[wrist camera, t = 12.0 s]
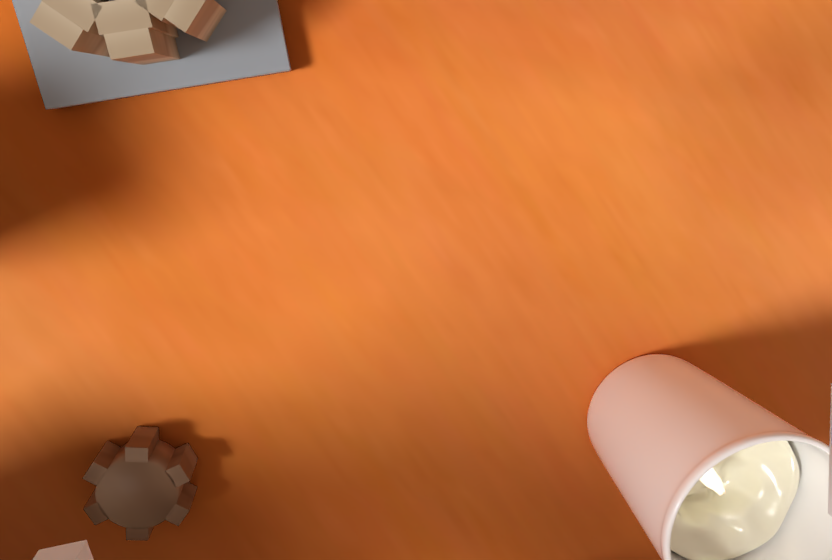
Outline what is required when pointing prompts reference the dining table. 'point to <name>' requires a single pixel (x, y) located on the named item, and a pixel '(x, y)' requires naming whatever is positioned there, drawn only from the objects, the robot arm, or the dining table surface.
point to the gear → (141, 483)
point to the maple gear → (127, 26)
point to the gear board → (198, 65)
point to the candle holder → (709, 466)
